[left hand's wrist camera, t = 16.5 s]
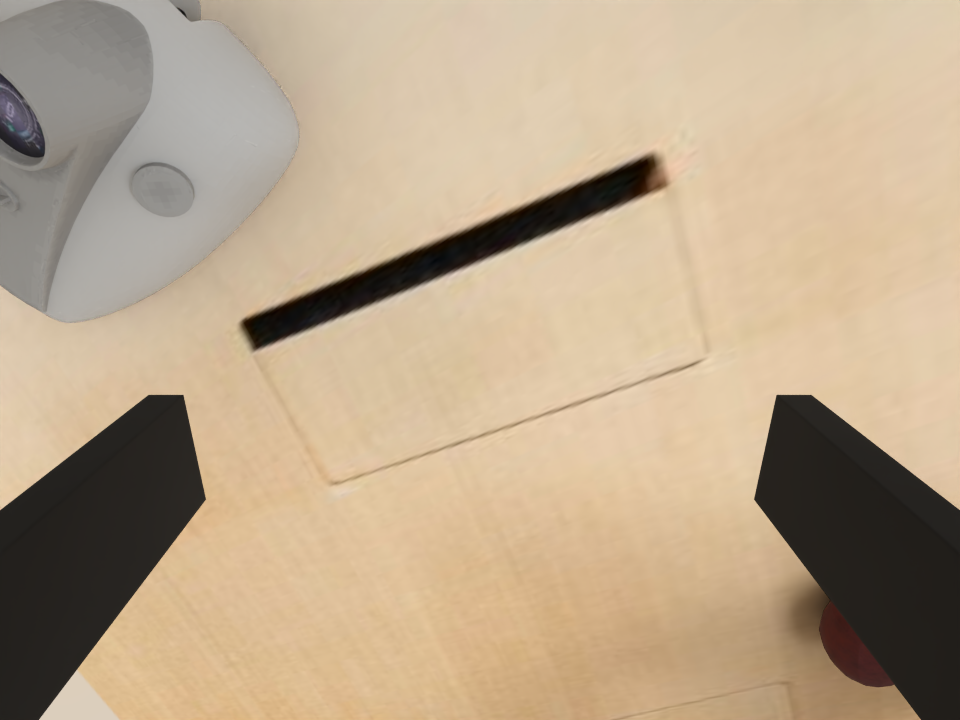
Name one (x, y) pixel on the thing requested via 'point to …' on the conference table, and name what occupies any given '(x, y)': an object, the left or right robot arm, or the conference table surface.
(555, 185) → the conference table surface
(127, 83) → the projector
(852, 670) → the maroon ball
